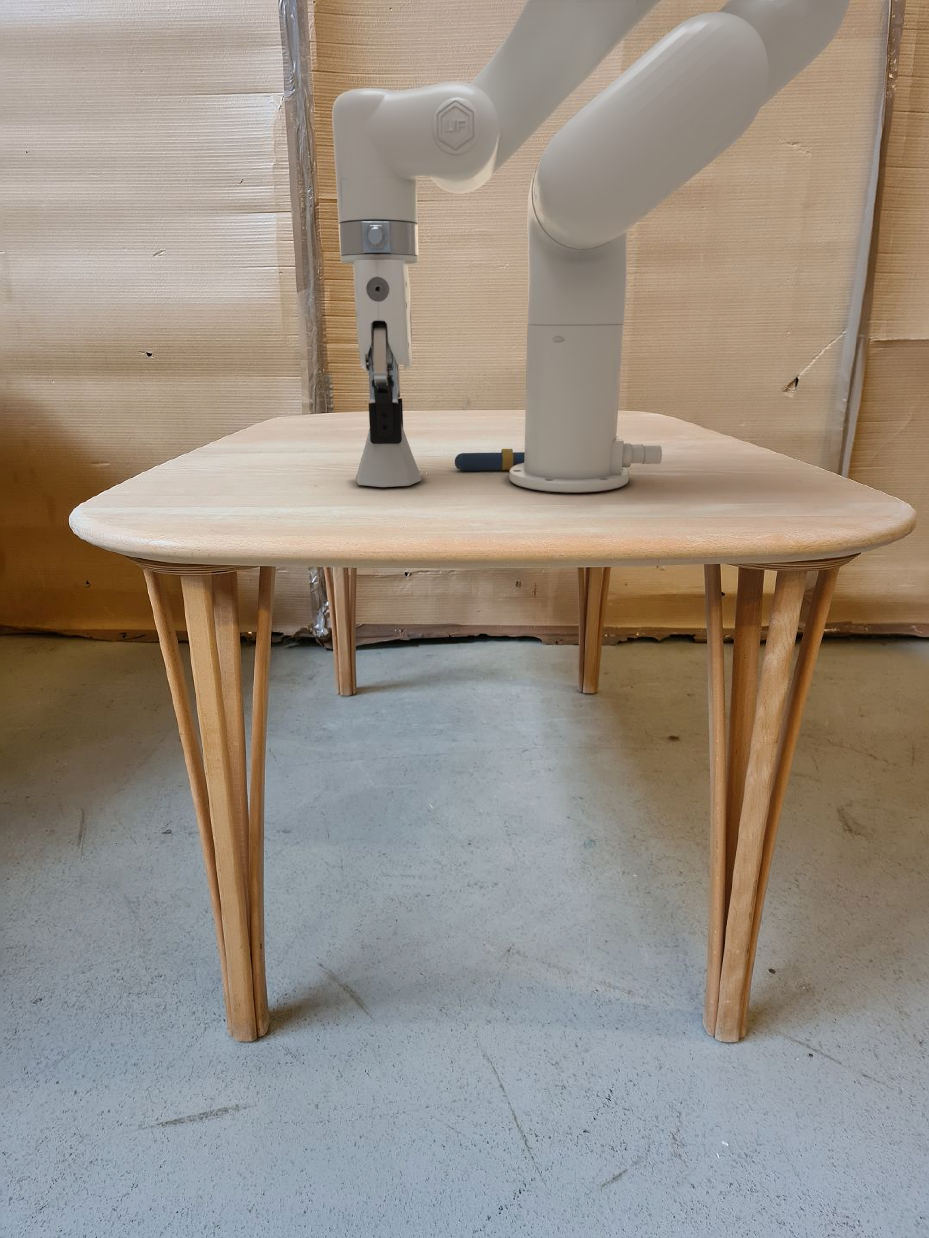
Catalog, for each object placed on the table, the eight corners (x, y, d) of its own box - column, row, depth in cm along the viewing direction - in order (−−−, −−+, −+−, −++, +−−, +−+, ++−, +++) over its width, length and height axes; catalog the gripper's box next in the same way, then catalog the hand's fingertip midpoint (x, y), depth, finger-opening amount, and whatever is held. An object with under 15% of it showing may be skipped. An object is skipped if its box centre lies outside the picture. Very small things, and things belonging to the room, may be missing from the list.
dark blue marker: (557, 467, 88) (558, 446, 88) (560, 471, 86) (561, 450, 85) (454, 468, 88) (454, 448, 87) (454, 473, 86) (454, 451, 85)
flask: (426, 475, 85) (424, 382, 81) (416, 490, 78) (413, 388, 74) (363, 474, 85) (357, 382, 82) (347, 489, 79) (341, 388, 75)
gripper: (416, 239, 66) (421, 453, 73) (419, 252, 81) (424, 428, 88) (328, 239, 65) (342, 454, 72) (348, 252, 81) (358, 429, 87)
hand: (387, 438), depth 80 cm, fingers closed on flask, 3 cm apart
